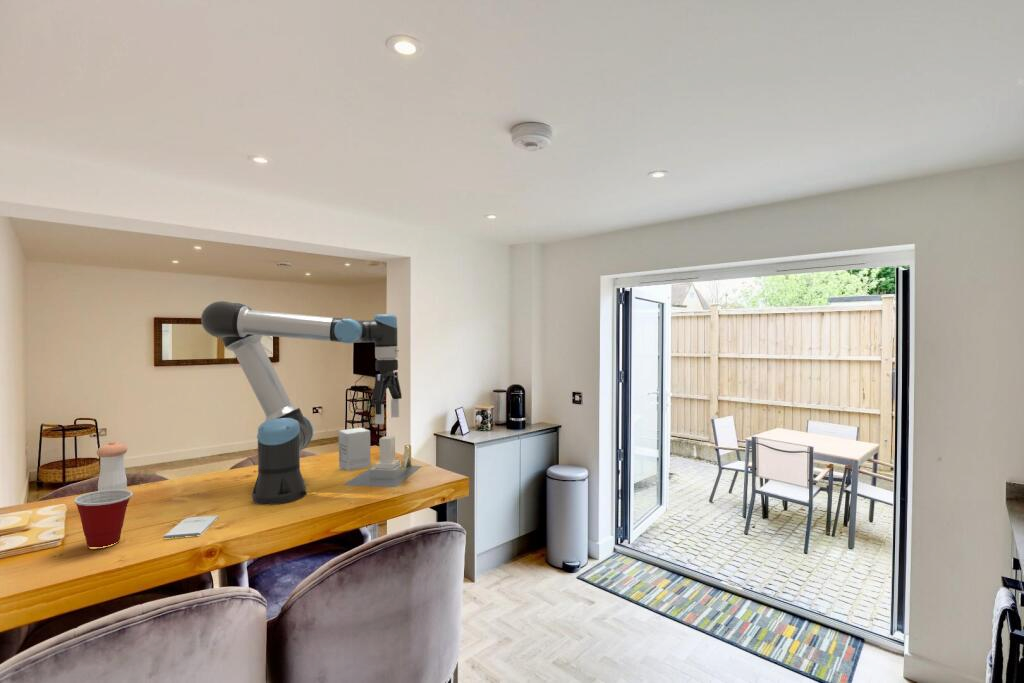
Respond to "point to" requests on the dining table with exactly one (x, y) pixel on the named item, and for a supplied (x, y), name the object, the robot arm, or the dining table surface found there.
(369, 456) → the supplement box
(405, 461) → the clip
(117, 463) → the pepper shaker
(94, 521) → the plastic cup
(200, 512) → the dining table surface
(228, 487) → the dining table surface
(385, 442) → the plug
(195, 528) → the external hard drive
